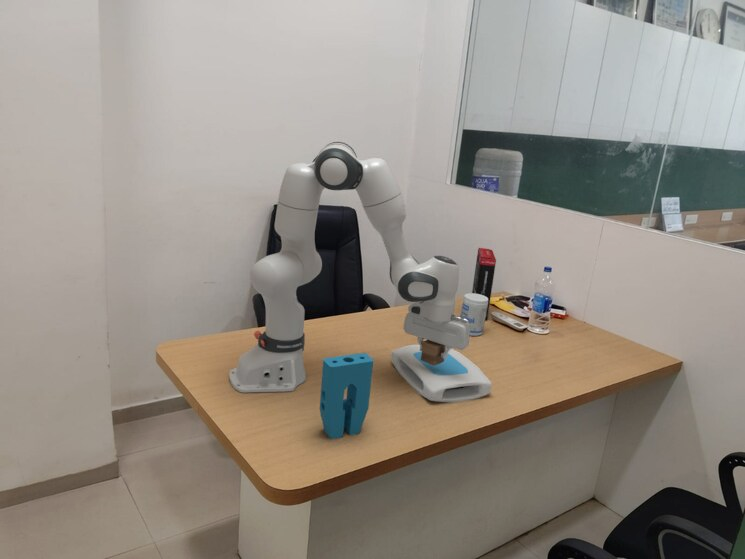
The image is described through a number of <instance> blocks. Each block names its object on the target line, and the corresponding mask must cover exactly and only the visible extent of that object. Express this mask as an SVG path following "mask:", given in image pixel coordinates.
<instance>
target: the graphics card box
mask: <svg viewBox="0 0 745 559" xmlns="http://www.w3.org/2000/svg"><path fill="white" fill-rule="evenodd" d="M493 251H494V250H493V249H491V248H486V247H485V248H483V247H478V248H477V255H476V261H475V262H476V263H475V268H474V277H473V284H472V291H471V293H475V294H480V295H483V296H486V297H487V298H488V306H487V312H486V317H485V321H487V320H488V316H489V310H490V303H491V298H492V290H493V285H494V284H493V282H494V278H495V270H496V264H497V258H496V256H495V254H494V252H493Z"/></svg>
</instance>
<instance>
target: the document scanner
mask: <svg viewBox="0 0 745 559" xmlns="http://www.w3.org/2000/svg"><path fill="white" fill-rule="evenodd" d="M421 354H422V351H420V345H419V343H418V344H409V345H405V346H403V347H399V348H397V349H393V350H392V351H391V355H390V356H391V358H390V361H391V363H392V364H393V366H394V367H395V369H396V372H398V374H399V375H400V376H401V377H402V378H403V379H404V380H405V381H406V382H407V383H408V384H409V385H410V386H411V388H412V389H413V390H414V391H416V393H417V394H418V395H420V396H422V397H423V398H426V399H427V400H429V401H432V402H437V403H438V402H439V403H448V404H449V403H450V404H453V403H459V402H465V401H473V400H477V399H479V398H482V397H484V396H488V395H489V394H491V390H492V385H493V384H492V381H491V380H490V379H489V378H488V377H487V376H486V374H485V373H484V372H483V370H482V369H480V367H479V366H477V365H476V364H475V363H474V362H472V361H471V360H470V359H469V358H467V357H466V356H465V355H463V353H461V352H459V351H458V350H456V349H454V348H451V349H450V351H449V352H448V353H447V358H446V359H444V362H442V363H440V364H437V365H435V366H433V365H431V364H428V363H426V362H424V361H422V360H421ZM460 387H463V388H460Z"/></svg>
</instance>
